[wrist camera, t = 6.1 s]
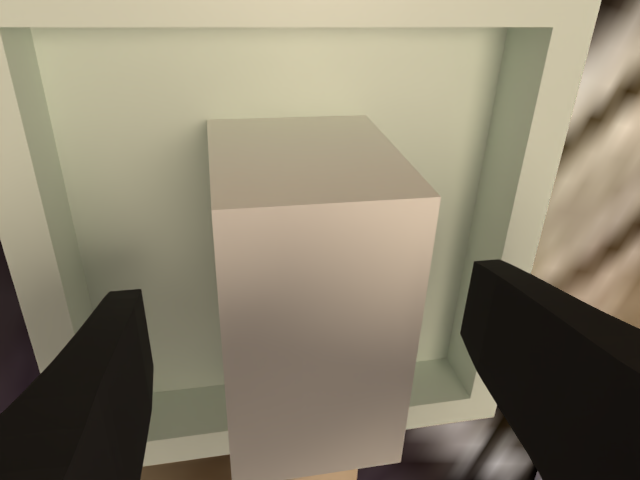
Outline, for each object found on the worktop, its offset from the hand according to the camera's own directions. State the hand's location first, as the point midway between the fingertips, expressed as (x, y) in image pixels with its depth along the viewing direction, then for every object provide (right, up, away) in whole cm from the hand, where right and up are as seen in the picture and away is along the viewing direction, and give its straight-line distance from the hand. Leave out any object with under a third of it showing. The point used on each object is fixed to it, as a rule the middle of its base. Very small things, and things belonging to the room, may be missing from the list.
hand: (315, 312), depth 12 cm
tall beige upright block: (-1, +2, +3) cm, 4 cm away
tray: (-1, +2, +4) cm, 5 cm away
